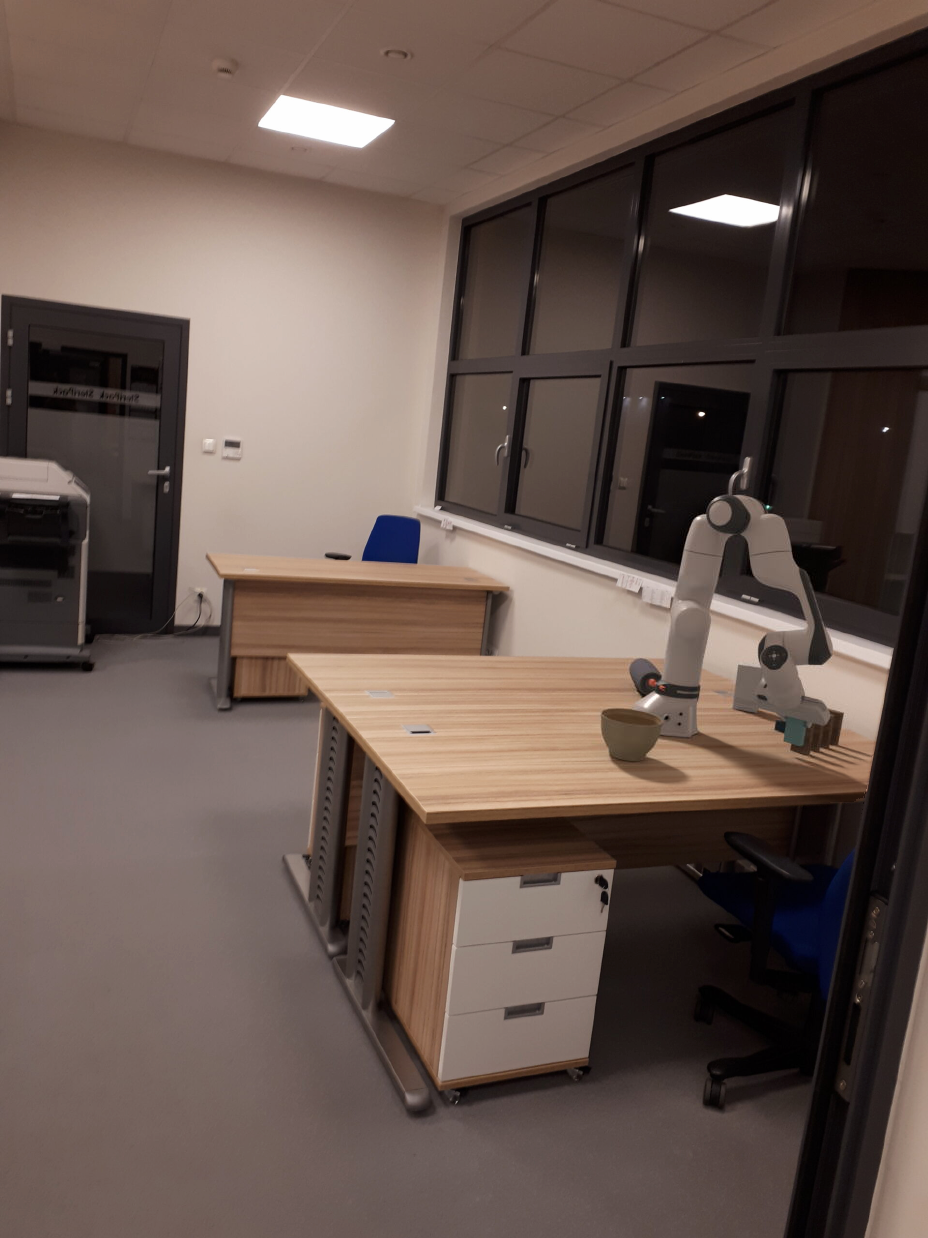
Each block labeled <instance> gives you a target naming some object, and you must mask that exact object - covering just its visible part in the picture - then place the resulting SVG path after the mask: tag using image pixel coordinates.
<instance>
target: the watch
mask: <svg viewBox="0 0 928 1238" xmlns="http://www.w3.org/2000/svg"><path fill="white" fill-rule="evenodd" d="M779 718H780V719H777V720H775V724H774V728H773V729H774V731H777V732H779V733H782V734H784V733H785V727H786V722H785V721H783V720H782V718H781V717H780V716H779Z"/></svg>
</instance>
